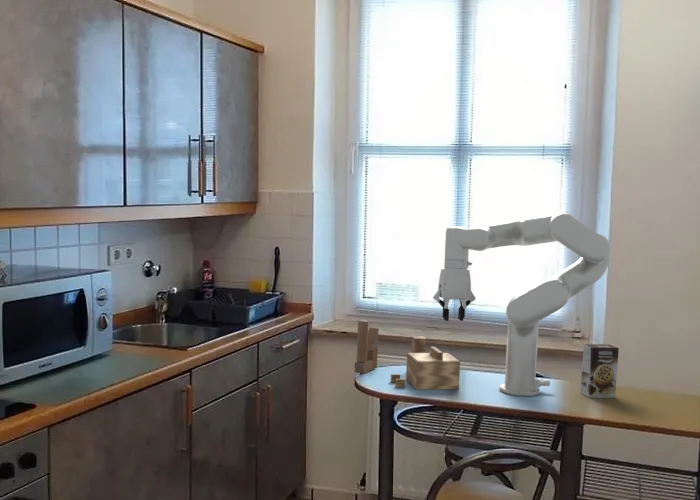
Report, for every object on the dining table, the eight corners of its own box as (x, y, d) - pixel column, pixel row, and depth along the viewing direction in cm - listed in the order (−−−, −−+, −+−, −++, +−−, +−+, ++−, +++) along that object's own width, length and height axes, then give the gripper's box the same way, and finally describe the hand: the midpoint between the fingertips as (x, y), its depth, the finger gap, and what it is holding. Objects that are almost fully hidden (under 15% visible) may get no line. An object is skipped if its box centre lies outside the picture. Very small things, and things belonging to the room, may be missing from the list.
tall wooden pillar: (421, 369, 269) (422, 336, 268) (424, 372, 265) (425, 338, 264) (410, 369, 268) (411, 336, 267) (413, 372, 265) (414, 338, 264)
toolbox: (446, 378, 257) (447, 352, 257) (458, 388, 245) (460, 361, 244) (388, 379, 254) (389, 353, 253) (398, 389, 241) (399, 361, 240)
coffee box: (589, 398, 239) (592, 347, 238) (579, 392, 245) (582, 343, 244) (616, 398, 241) (619, 347, 239) (606, 392, 247) (609, 343, 246)
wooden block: (377, 368, 269) (379, 317, 268) (363, 374, 260) (365, 321, 258) (368, 366, 271) (370, 316, 270) (353, 372, 262) (355, 320, 260)
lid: (447, 355, 256) (448, 346, 256) (458, 363, 245) (459, 353, 245) (408, 355, 253) (408, 346, 253) (417, 363, 242) (417, 353, 242)
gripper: (476, 263, 253) (473, 318, 255) (427, 262, 250) (425, 318, 251) (484, 266, 246) (481, 322, 247) (434, 265, 243) (431, 322, 244)
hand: (453, 319), depth 249 cm, fingers open, 4 cm apart
